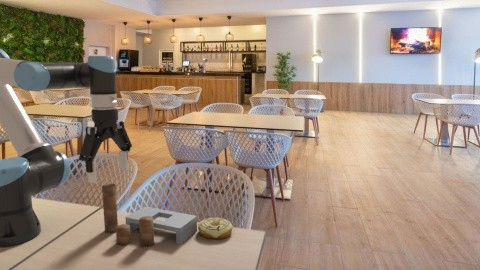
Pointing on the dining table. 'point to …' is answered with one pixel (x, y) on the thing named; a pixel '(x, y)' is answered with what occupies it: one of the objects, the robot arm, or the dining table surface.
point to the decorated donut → (215, 228)
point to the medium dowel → (146, 231)
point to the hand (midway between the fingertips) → (109, 176)
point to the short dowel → (123, 234)
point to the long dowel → (110, 207)
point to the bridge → (166, 222)
